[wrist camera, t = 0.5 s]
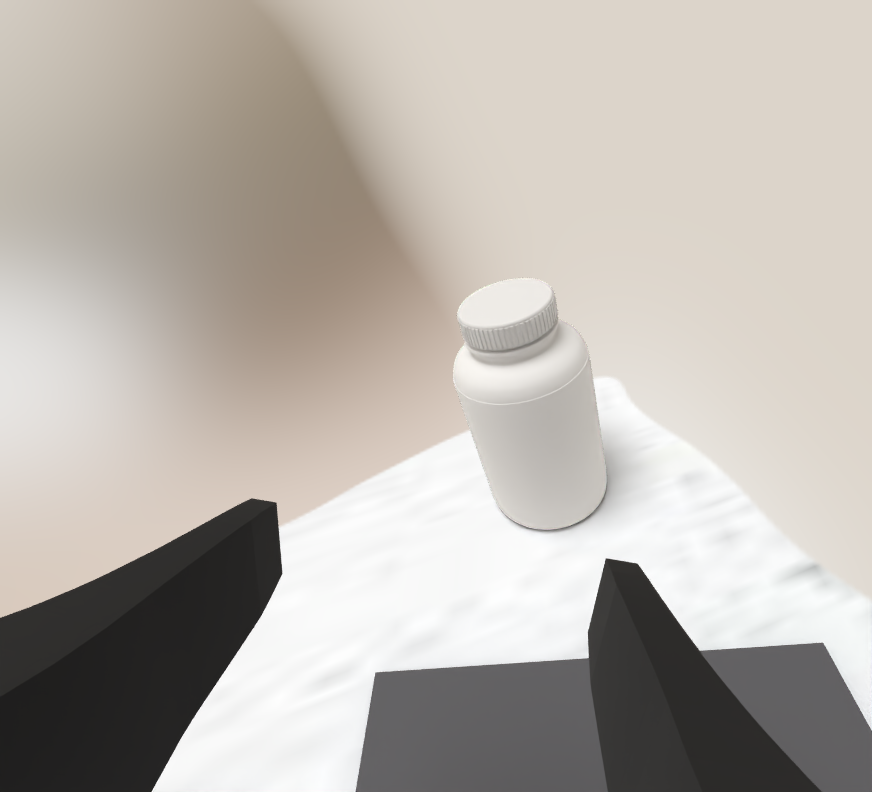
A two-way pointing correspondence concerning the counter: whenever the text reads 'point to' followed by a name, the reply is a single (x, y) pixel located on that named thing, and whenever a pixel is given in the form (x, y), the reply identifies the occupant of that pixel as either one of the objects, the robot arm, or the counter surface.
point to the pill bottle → (530, 404)
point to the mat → (590, 723)
